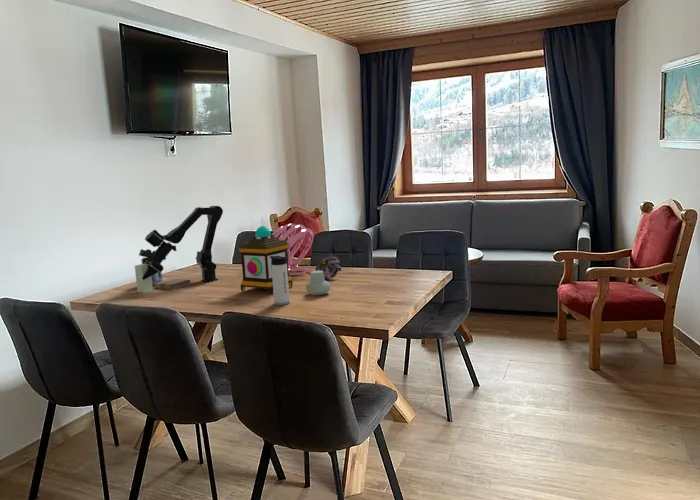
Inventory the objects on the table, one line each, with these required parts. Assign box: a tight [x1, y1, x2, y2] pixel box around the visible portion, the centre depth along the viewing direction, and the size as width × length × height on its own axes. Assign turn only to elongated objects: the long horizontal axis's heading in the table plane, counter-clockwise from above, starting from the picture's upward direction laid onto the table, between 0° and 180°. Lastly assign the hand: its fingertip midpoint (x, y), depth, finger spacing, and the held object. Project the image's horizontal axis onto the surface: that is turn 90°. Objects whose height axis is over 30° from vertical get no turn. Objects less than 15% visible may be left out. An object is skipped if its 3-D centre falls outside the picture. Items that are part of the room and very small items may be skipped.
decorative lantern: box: [237, 225, 294, 296], centre depth 258 cm, size 20×20×30 cm
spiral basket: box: [271, 223, 315, 277], centre depth 295 cm, size 28×28×27 cm
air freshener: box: [305, 270, 332, 296], centre depth 245 cm, size 11×8×10 cm
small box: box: [151, 270, 163, 288], centre depth 285 cm, size 11×6×10 cm, turn 168°
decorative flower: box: [314, 255, 342, 282], centre depth 280 cm, size 14×12×15 cm
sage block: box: [134, 263, 154, 294], centre depth 271 cm, size 5×5×13 cm
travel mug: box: [270, 256, 290, 306], centre depth 230 cm, size 6×7×20 cm
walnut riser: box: [154, 278, 192, 291], centre depth 280 cm, size 12×12×2 cm
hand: (140, 278), depth 270 cm, fingers closed on sage block, 6 cm apart
